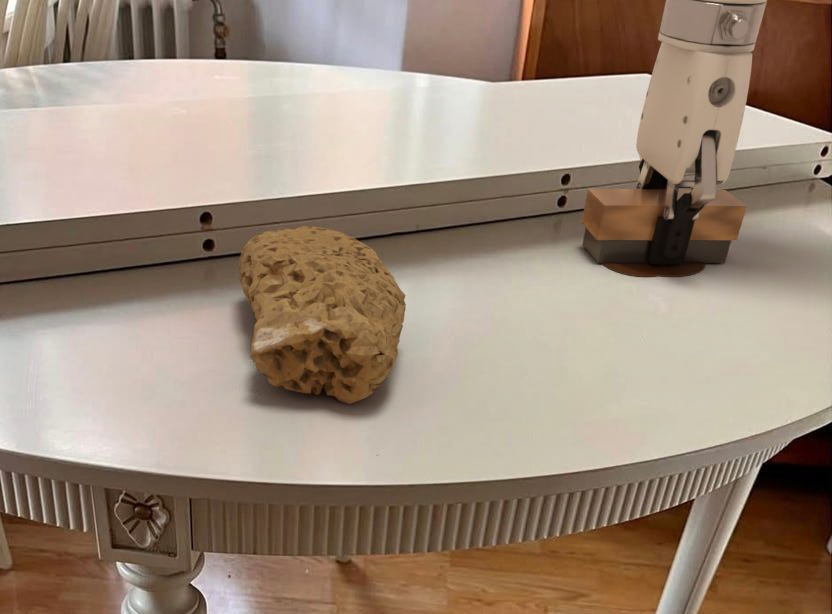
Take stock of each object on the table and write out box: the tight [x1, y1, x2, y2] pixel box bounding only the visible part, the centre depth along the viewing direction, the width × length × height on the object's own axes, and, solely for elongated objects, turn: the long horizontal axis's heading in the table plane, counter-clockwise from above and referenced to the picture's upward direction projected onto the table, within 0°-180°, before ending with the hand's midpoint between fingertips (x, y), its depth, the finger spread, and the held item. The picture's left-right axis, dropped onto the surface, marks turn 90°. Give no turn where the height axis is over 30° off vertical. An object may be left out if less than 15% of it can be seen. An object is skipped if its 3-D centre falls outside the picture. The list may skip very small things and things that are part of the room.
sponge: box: [238, 225, 407, 405], centre depth 71 cm, size 13×8×20 cm
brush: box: [581, 188, 748, 264], centre depth 89 cm, size 13×4×5 cm, turn 98°
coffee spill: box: [601, 263, 707, 278], centre depth 90 cm, size 11×9×1 cm
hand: (654, 250), depth 90 cm, fingers closed on brush, 4 cm apart
